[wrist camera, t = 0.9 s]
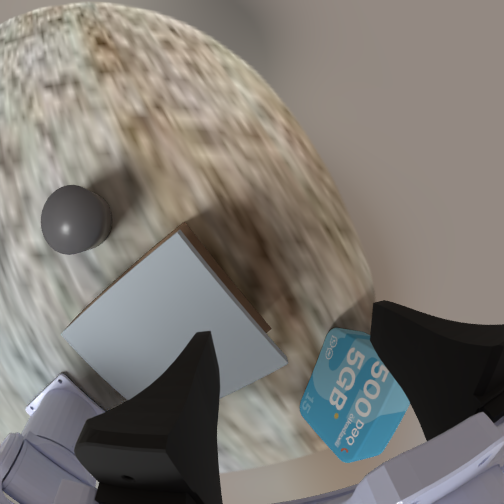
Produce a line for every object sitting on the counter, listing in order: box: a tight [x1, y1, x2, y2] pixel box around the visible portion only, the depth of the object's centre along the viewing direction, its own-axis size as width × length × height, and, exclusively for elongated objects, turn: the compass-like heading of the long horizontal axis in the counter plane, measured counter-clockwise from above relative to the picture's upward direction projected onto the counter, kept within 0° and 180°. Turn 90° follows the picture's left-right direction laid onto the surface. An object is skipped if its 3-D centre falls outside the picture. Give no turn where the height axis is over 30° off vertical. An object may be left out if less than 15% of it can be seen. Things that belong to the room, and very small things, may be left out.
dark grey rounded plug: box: [41, 185, 112, 255], centre depth 20 cm, size 5×5×5 cm
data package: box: [300, 328, 410, 463], centre depth 26 cm, size 12×4×12 cm, turn 162°
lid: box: [61, 230, 288, 400], centre depth 19 cm, size 14×12×1 cm
